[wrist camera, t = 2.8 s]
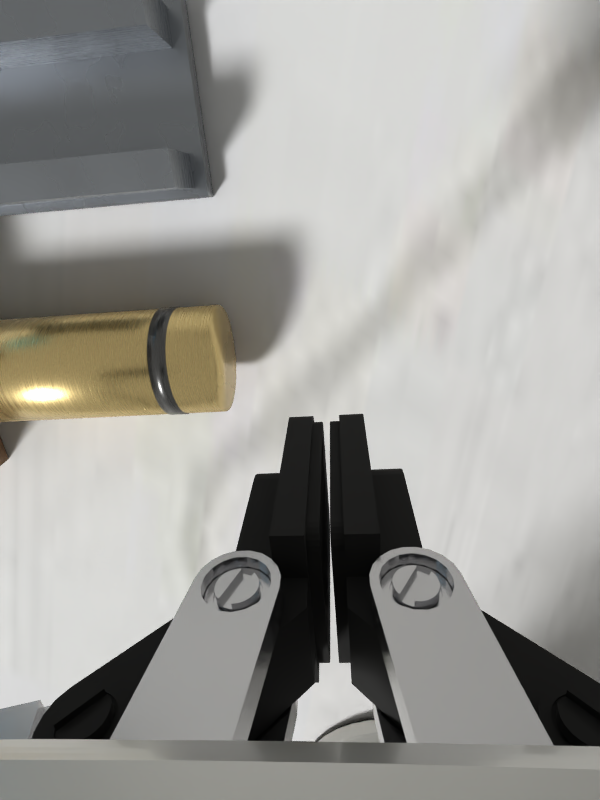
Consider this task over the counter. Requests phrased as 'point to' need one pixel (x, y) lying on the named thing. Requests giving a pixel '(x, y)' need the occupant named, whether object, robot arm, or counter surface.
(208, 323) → the axle
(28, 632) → the counter surface
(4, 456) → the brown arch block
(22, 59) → the cradle
